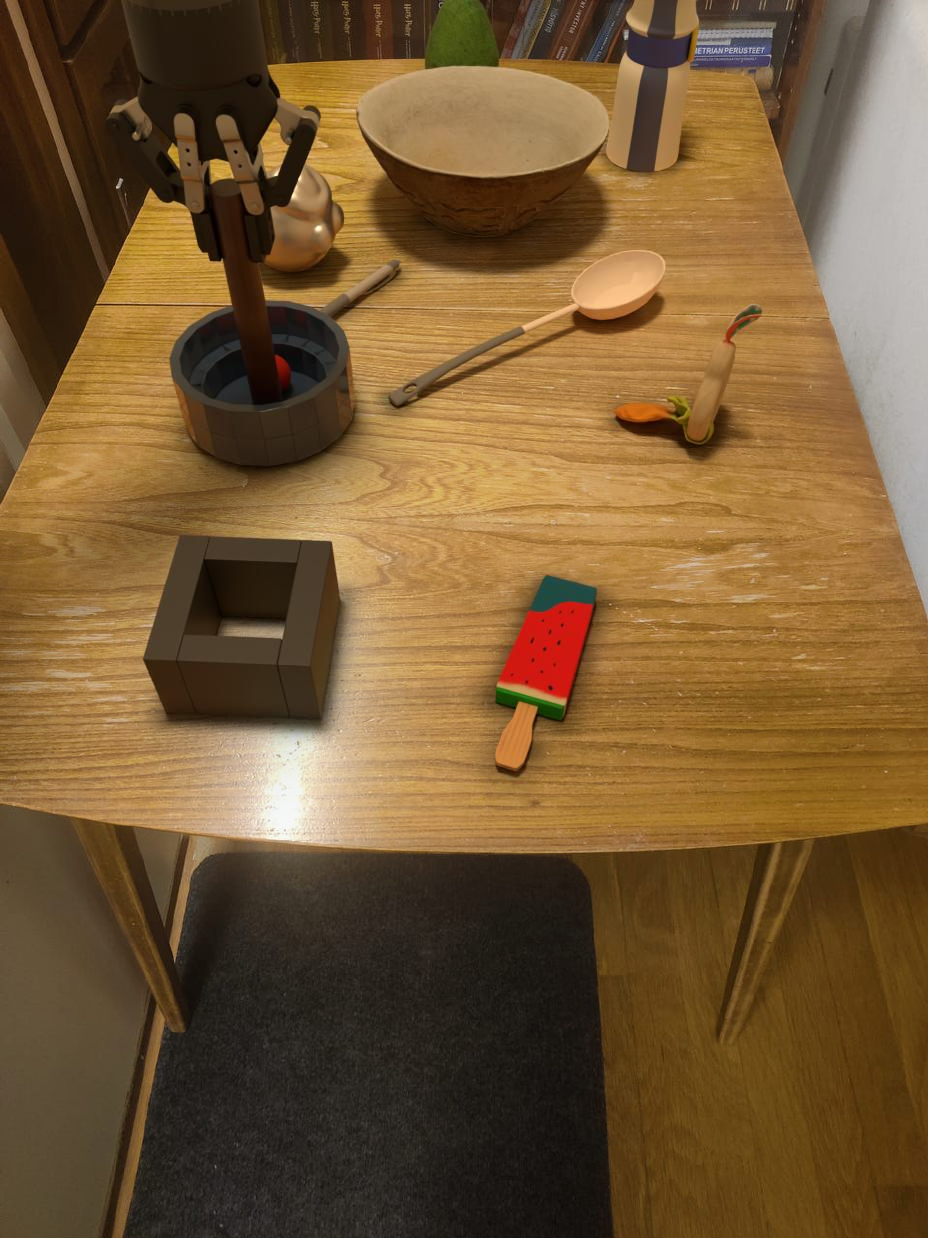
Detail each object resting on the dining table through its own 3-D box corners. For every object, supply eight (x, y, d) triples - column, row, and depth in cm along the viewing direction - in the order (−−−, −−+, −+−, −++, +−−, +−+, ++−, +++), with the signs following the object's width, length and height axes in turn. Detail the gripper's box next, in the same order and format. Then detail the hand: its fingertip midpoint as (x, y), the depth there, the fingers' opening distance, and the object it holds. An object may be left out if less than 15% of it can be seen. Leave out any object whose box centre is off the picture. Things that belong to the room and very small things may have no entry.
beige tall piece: (659, 376, 85) (684, 254, 76) (743, 418, 82) (780, 296, 73) (608, 420, 81) (627, 298, 72) (694, 466, 78) (725, 345, 69)
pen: (404, 270, 94) (403, 257, 93) (302, 344, 87) (300, 330, 86) (396, 267, 94) (395, 253, 93) (293, 339, 88) (291, 326, 87)
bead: (244, 377, 79) (249, 345, 81) (253, 402, 82) (257, 371, 84) (284, 377, 79) (288, 345, 81) (292, 402, 82) (295, 371, 83)
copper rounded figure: (277, 305, 91) (260, 201, 83) (231, 255, 95) (211, 152, 87) (363, 274, 94) (355, 170, 86) (315, 227, 99) (303, 125, 91)
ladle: (680, 300, 90) (684, 257, 86) (419, 456, 84) (410, 417, 80) (637, 265, 93) (638, 222, 89) (381, 414, 87) (371, 374, 83)
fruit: (466, 84, 117) (467, -32, 108) (511, 109, 114) (516, -8, 104) (412, 104, 114) (408, -13, 105) (456, 131, 110) (456, 12, 101)
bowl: (489, 125, 111) (491, 28, 103) (648, 215, 100) (664, 114, 92) (316, 199, 102) (305, 99, 94) (471, 307, 91) (473, 203, 83)
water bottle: (682, 136, 110) (732, -140, 90) (680, 175, 105) (733, -108, 85) (607, 129, 111) (640, -145, 91) (602, 169, 106) (636, -114, 86)
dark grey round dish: (169, 468, 78) (151, 408, 73) (205, 357, 86) (190, 297, 81) (344, 474, 77) (337, 414, 73) (363, 363, 86) (357, 302, 81)
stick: (250, 412, 79) (204, 196, 65) (255, 392, 80) (212, 177, 66) (280, 413, 79) (241, 197, 65) (285, 393, 80) (248, 178, 66)
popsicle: (471, 750, 61) (539, 572, 70) (470, 762, 62) (538, 585, 71) (543, 771, 60) (603, 588, 69) (541, 783, 61) (601, 602, 70)
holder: (165, 713, 64) (142, 659, 59) (198, 592, 70) (179, 534, 65) (321, 720, 64) (310, 666, 59) (340, 598, 70) (332, 540, 65)
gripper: (41, 0, 54) (126, 284, 67) (300, 7, 53) (332, 291, 67) (81, -54, 58) (153, 222, 72) (319, -48, 58) (346, 229, 71)
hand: (239, 254), depth 69 cm, fingers closed on stick, 2 cm apart
